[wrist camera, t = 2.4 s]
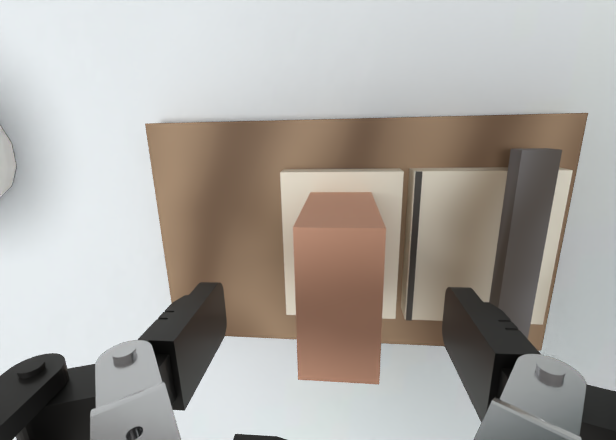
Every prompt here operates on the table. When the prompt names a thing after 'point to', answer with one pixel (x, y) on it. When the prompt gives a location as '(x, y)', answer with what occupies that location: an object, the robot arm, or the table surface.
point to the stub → (341, 267)
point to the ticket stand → (414, 216)
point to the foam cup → (6, 163)
